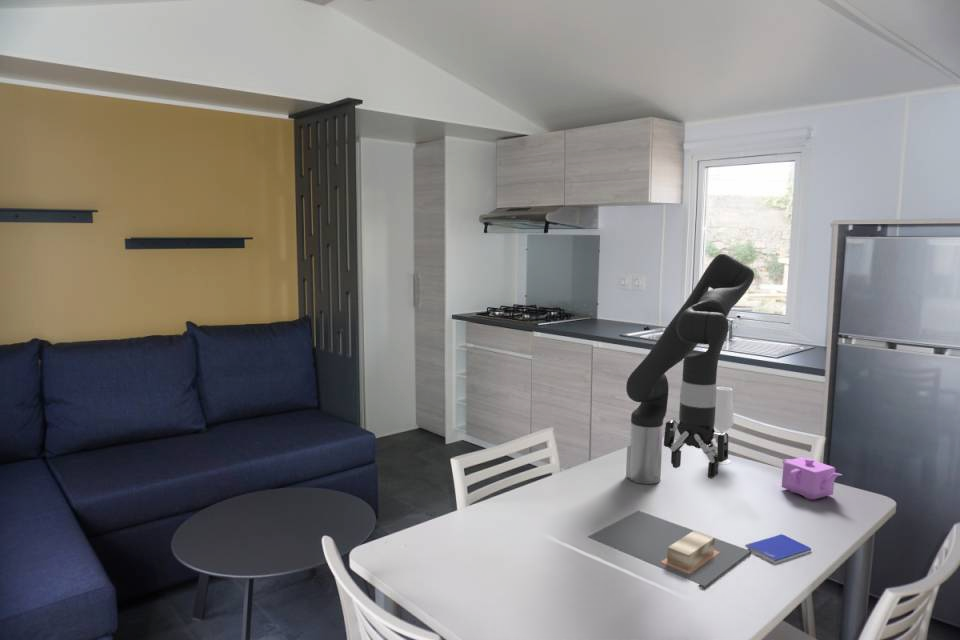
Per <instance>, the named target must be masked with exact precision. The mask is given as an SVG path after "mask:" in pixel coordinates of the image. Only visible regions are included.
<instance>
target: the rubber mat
mask: <svg viewBox="0 0 960 640" xmlns="http://www.w3.org/2000/svg"><path fill="white" fill-rule="evenodd" d="M693 531H694V530H693V529H691V528H688V527H686V526H683V525H680V524H676V523H674V522H672V521H669V520H667V519H663V518H660V517H658V516H655V515H652V514H650V513H646V512H644V511H641V510H637V511H636V510H635V512H633V513H631V514H628V515H626V516H624V517H623V518H621V519H619V520H617V521H615V522H613V523H612V524H609V525H607V526H606V527H603V528H602V529H600V530H598V531H596V532H594V533H592V534H590V535H587V538H588V539H592V541H593V540H594V541H596V542H599V543H601V544H603V545H606V546H608V547H610V548H611V549H612V548H613V549H615V550H618V551H620V552H622V553H625V554H627V555H630V556H632V557H633V558H636V559H639V560H642V561H644V562H646V563H648V564H651V565H653V566H656V567H658V568H660V569H663V570H665V571H667V572H669V573H672V574H674V575H677V576H680V577H682V578H684V579H687V580H689V581H691V582H694V583H696V584H698V587H699V586H700V587H699V588H701V587H702V589H704V588H705V589H706V588H708V587H709V586H711V584H713V583H714V582H716V581H717V580H718V579H719V578H721V577H722V576H723V575H724V574H726V573H727V572H729V571H730V570H731V569H732V568H734V567H735V566H737V565H738V564H739V563H740V562H742V561H743V560H745V559H746V558H747V557H749V556H750V555H751V553H752V552H751V551H750V550H747V549H748V548H744V547H740V546H739V545H736V544H732V543H729V542H727V541H725V540H722V539H719V538H716V537H714V538H715V543H714V552H713V553H712V554H711V555H709V556H708V557H706V558H705V559H703V560H702V561H701V562H699V563H698V564H696V565H695V566H694V567H692V568H691V569H689V570H685V569H683V568H680V567H678V566H675V565H673V564H670V563H668V562H667V553H668V547H669V546H670V545H672V544H674V543H675V542H677V541H678V540H680V539H682V538H683V537H685V536H686V535H688V534H689V533H691V532H693ZM716 579H717V580H716ZM707 586H708V587H707Z"/></svg>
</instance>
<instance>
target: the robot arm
mask: <svg viewBox="0 0 960 640" xmlns="http://www.w3.org/2000/svg"><path fill="white" fill-rule="evenodd" d="M754 272H755V271H754V270H753V269H752V268H751V267H750V266H748V265H746V264H744V263H743V262H742V261H740V260H738V259H736V258H734V257H733V256H731V255H729V254H728V253H726V252H725V253H724V252H719V253H718V254H716V256H715V257H714V258H713V259H712V260H711V261H710V263H709V264H708V266H707V267H706V269H705V271H704V272H703V274H702V275H701V277H700V279H699V280H698V282H697V284H696V285H695V287H694V289H693V290H692V291H691V293H690V295H689V297H687V300H686V301H685V302H684V304H683V305H682V306H681V307H680V309H679V310H678V312H676V314H675V316H674V317H673V318H672V320H671V321H670V322H669V324H668V325H667V326H666V328H665V330H664V331H663V332H662V334H661V336H660V337H659V339H658V340H657V341H656V342H655V344H654V346H653V347H652V348H651V349H650V351H649V353H648V354H647V355H646V357H645V358H644V359H643V360H642V362H640V364H638V366H637V367H636V368H635V369H634V370H633V371H632V372H631V373H630V375H629V377H628V378H627V381H626V393H627V396H628V398H629V399H630V400H632V401H633V402H637V403H640V404H639V406H638V407H637V408H636V409H634V410H633V411H632V413H631V414H630V415H631V416H630V437H629V439H630V440H629V445H628V446H627V447H626V466H625V477H626V478H628V479H629V480H630V481H633V482H635V483H638V484H643V485H654V484H655V485H656V484H658V483H660V482H661V475H662V473H661V472H662V454H663V446H664V447H666V448H668V449H670V451H671V456H670V457H671V458H670V463H671V465H672V468H674V469H678V468H680V467H681V463H682V462H681V460H682V450H681V449H682V448H683V447H684V445H686V446H689V447H694V448H696V449H701V450H702V452H703V453H704V455H706V457H707V459H708V460H709V462H708V468H707V478H708V479H710V480H712V479H714V478H715V477H717V476H718V474H719V465H720V464H719V462H723V461H725V460H727V459H729V434H728V433H727V432H724V433H723V434H721V433H720V432H717V431H715V427H714V424H715V411H716V396H717V391H716V388H717V377H718V376H717V375H718V364H719V359H720V355H721V351H722V349H723V346H724V344H725V341H726V338H727V336H728V333H729V329H730V328H729V327H730V326H729V325H730V324H729V320H728V316H729V314H730V312H731V310H732V309H733V307H734V306H735V305H736V304H738V302H739V301H740V300H741V298H743V296H744V295H745V294H746V293H747V291H748V290H749V288H750V287H751V285H752V284H753V281H754V279H755V273H754ZM710 288H711V289H710ZM709 289H710V290H709ZM698 344H699V345H708V347H707V348H708V349H707V350H706V351H703V352H697V353H696V352H695V353H692V352H693V351H694V350H695V348H696V347H697V346H698ZM680 362H683V364H682V365H683V367H682V381H681V388H680V395H679V413H678V420H679V422H677V421H676V420H675V419H671V420H669V421H667V422H665V427H664V419H665V417H666V415H667V409H668V402H669V401H668V400H669V387H670V386H669V380H668V377H667V375H666V374H665V373H667V372H668V371H669V370H670V369H671V368H674V367H675V366H677V364H678V363H680ZM664 428H665V429H664ZM676 431H678V433H679V437H678V438H677V439H676V440H675V436H676ZM663 432H664V437H663ZM714 439H715V443H716V444H717V448H716V445H715V443H714V442H713V440H714Z"/></svg>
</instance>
